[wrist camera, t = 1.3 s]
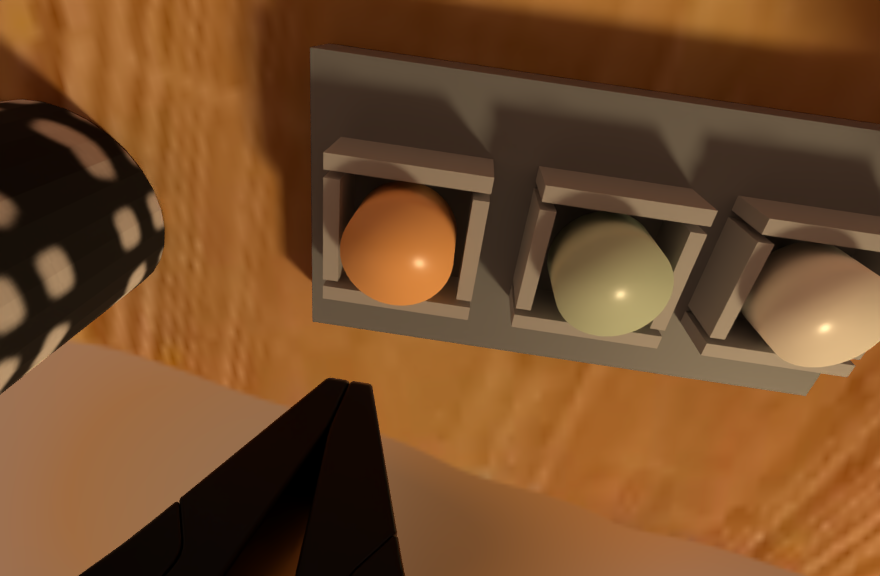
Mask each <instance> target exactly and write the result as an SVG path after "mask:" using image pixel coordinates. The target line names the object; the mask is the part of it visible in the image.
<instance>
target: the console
mask: <svg viewBox="0 0 880 576" xmlns="http://www.w3.org/2000/svg"><path fill="white" fill-rule="evenodd" d="M310 99H311V206H312V314H313V322H319V323H326V324H333V325H339V326H346V327H353V328H359V329H366V330H372V331H379V332H386V333H392V334H399V335H406V336H412V337H419V338H425V339H432V340H439V341H445V342H452V343H459V344H465V345H472V346H478V347H485V348H492V349H498V350H505V351H512V352H518V353H525V354H532V355H538V356H545V357H551V358H558V359H565V360H571V361H578V362H585V363H591V364H598V365H604V366H611V367H618V368H624V369H631V370H638V371H644V372H651V373H657V374H664V375H671V376H677V377H684V378H691V379H697V380H704V381H710V382H717V383H724V384H730V385H737V386H744V387H750V388H757V389H763V390H770V391H777V392H783V393H790V394H797V395H803V396H806V395H807V393H808V392H809V390H810V389H811V387H812V386H813V384H814V383H815V381H816V380H817V378H818V377H819V375H820V374H821V373H823V374H829V375H836V376H842V377H848V376H849V374H850V373H851V371H852V370H853V369H854V367H855V365H854V364H853V363H852V362H851V361H850V360H848V361H846V362H843V363H839V364H836V365H832V366H826V367H802V366H797V365H793V364H790V363H788V362H786V361H784V360H783V359H781V358H780V357H779V356H778V355H777V354H776V353H775V352H774V351H773V350H772V349H771V348H770V346H769V345H768V344H767V343H766V342H765V341H764V339H763V338H762V337H761V336H760V335H759V333H758V332H757V331H756V330H755V329H754V328H753V326H752V325H751V324H750V323H749V322H748V320H747V319H746V318H745V317H744V315H743V314H742V312H741V308H742V306H743V304H744V302H745V300H746V298H747V296H748V294H749V292H750V291H751V289H752V287H753V285H754V283H755V281H756V279H757V277H758V275H759V273H760V272H761V270H762V268H763V266H764V264H765V262H766V260H767V258H768V256H769V254H770V253H772V252H774V251H776V250H778V249H780V248H782V247H785V246H788V245H791V244H795V243H800V242H816V243H823V244H830V245H833V246H835V247H837V248H838V249H840V250H842V251H843V252H845V253H846V254H847V255H849V256H850V257H852V258H853V259H855V260H856V261H858V262H859V263H861V264H862V265H864V266H865V267H867V268H868V269H870V270H871V271H873V272H874V273H876V274H877V275H879V276H880V124H875V123H868V122H861V121H854V120H847V119H841V118H834V117H827V116H820V115H813V114H807V113H800V112H793V111H786V110H779V109H772V108H766V107H759V106H752V105H745V104H738V103H732V102H725V101H718V100H711V99H704V98H697V97H691V96H684V95H677V94H670V93H663V92H657V91H650V90H643V89H636V88H629V87H622V86H616V85H609V84H602V83H595V82H588V81H582V80H575V79H568V78H561V77H554V76H547V75H541V74H534V73H527V72H520V71H513V70H507V69H500V68H493V67H486V66H479V65H472V64H466V63H459V62H452V61H445V60H438V59H432V58H425V57H418V56H411V55H404V54H397V53H391V52H384V51H377V50H370V49H363V48H357V47H350V46H343V45H336V44H329V43H328V44H324V45H319V46H314V47H310ZM394 181H406V182H412V183H419V184H423V185H425V186H427V187H429V188H431V189H433V190H434V191H436V192H437V193H438V194H439V195H440V196H442V197H443V199H444V200H445V201H446V202H447V203H448V205H449V206H450V208H451V210H452V212H453V214H454V217H455V220H456V225H457V237H456V245H455V253H454V261H453V267H452V272H451V274H450V277H449V279H448V281H447V282H446V284H445V285H444V287H443V288H442V289H441V290H440V291H439V292H438V293H437V294H435V295H434V296H433V297H431V298H429V299H428V300H426V301H423V302H421V303H417V304H413V305H406V306H398V305H390V304H385V303H382V302H379V301H377V300H374V299H372V298H370V297H369V296H367V295H365V294H364V293H363V292H361V291H360V290H359V289H358V288H357V287H356V286H355V285H354V284H353V283H352V282H351V280H350V279H349V277H348V276H347V274H346V272H345V270H344V268H343V265H342V262H341V257H340V242H341V238H342V235H343V232H344V230H345V228H346V226H347V225H348V223H349V221H350V220H351V218H352V217H353V215H354V214H355V212H356V211H357V209H358V207H359V206H360V204H361V203H362V201H363V200H364V199H365V197H366V196H367V195H368V194H369V193H370V192H371V191H373V190H374V189H376V188H377V187H379V186H381V185H383V184H386V183H389V182H394ZM599 211H607V212H614V213H621V214H626V215H629V216H631V217H632V218H634V219H636V220H637V221H638V222H640V223H641V224H642V225H643V226H644V227H645V229H646V230H647V231H648V233H649V234H650V236H651V237H652V238H653V240H654V241H655V242H656V244H657V245H658V246H659V248H660V249H661V251H662V252H663V253H664V255H665V256H666V257H667V259H668V260H669V262H670V264H671V267H672V270H673V275H674V286H673V291H672V294H671V297H670V299H669V301H668V303H667V305H666V306H665V308H664V309H663V311H662V312H661V313H660V314H659V315H658V316H657V317H656V318H655V319H654V320H653V321H651V322H650V323H648V324H647V325H645V326H644V327H642V328H640V329H638V330H636V331H633V332H630V333H627V334H623V335H619V336H596V335H591V334H587V333H584V332H582V331H580V330H578V329H576V328H574V327H573V326H571V325H570V324H569V323H568V322H567V321H566V320H565V319H564V318H563V317H562V315H561V313H560V312H559V310H558V307H557V305H556V301H555V297H554V293H553V289H552V284H551V280H550V276H549V272H548V266H547V259H548V253H549V250H550V247H551V244H552V242H553V240H554V239H555V237H556V236H557V234H558V233H559V232H560V231H561V230H562V229H563V228H564V227H565V226H566V225H568V224H569V223H570V222H572V221H573V220H575V219H577V218H579V217H581V216H583V215H586V214H589V213H593V212H599ZM864 353H865V352H864ZM864 353H863V354H861V355H859V356H857V357H855V358H853V359H857V360H860V359H861V358H862V356H863V355H864Z"/></svg>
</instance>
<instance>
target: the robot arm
mask: <svg viewBox="0 0 880 576" xmlns="http://www.w3.org/2000/svg"><path fill="white" fill-rule="evenodd" d="M179 502H180V504H179V503H178V502H175V503H174V504H173V505H171V506H170V507H169V508H167V509H166V510H165V511H164V512H163V513H161V514H160V515H159V516H158V517H156V518H155V519H154V520H153V521H152V522H150V523H149V524H148V525H146V526H145V527H144V528H142V529H141V530H140V531H138V532H137V533H136V534H135V535H133V536H132V537H131V538H130V539H128V540H127V541H126V542H124V543H123V544H122V545H121V546H119V547H118V548H116V549H115V550H113V551H112V552H111V553H110V554H108V555H107V556H105V557H104V558H102V559H101V560H100V561H98V562H97V563H95V564H94V565H93V566H91V567H90V568H88V569H87V570H86V571H84V572H83V573H82V574H80V575H79V576H405V573H404V568H403V563H402V559H401V553H400V547H399V541H398V537H397V530H396V524H395V519H394V513H393V507H392V501H391V495H390V489H389V483H388V477H387V471H386V465H385V460H384V454H383V448H382V442H381V436H380V430H379V424H378V418H377V412H376V406H375V400H374V395H373V389H372V386H371V385H370V384H368V383H361V382H355V381H353V382H351V383H350V384H349V382H348V381H347V380H342V379H335V378H328V379H326V380H324V381H323V382H322V383H321V384H319V385H318V386H317V387H316V388H315V389H313V390H312V391H311V392H310V393H308V394H307V395H306V396H305V397H303V398H302V399H301V400H300V401H299V402H297V403H296V404H295V405H294V406H292V407H291V408H290V409H289V410H288V411H286V412H285V413H284V414H283V415H282V416H280V417H279V418H278V419H277V420H275V421H274V422H273V423H272V424H270V425H269V426H268V427H267V428H266V429H264V430H263V431H262V432H261V433H260V434H259V435H257V436H256V437H255V438H253V439H252V440H251V441H250V442H248V443H247V444H246V445H245V446H244V447H242V448H241V449H240V450H239V451H238V452H236V453H235V454H234V455H233V456H231V457H230V458H229V459H228V460H226V461H225V462H224V463H223V464H222V465H220V466H219V467H218V468H217V469H215V470H214V471H213V472H212V473H211V474H209V475H208V476H207V477H206V478H205V479H203V480H202V481H201V482H200V483H199V484H197V485H196V486H195V487H194V488H192V489H191V490H190V491H188V492H187V493H186V494H185V495H184V496H182V497H181V498H180V501H179Z"/></svg>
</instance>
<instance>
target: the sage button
mask: <svg viewBox="0 0 880 576" xmlns="http://www.w3.org/2000/svg"><path fill="white" fill-rule="evenodd" d="M547 266H548V272H549V276H550V280H551V284H552V289H553V293H554V297H555V301H556V305H557V307H558V310H559V312H560V313H561V315H562V317H563V318H564V319H565V320H566V321H567V322H568V323H569V324H570V325H571V326H573V327H574V328H576V329H578V330H580V331H582V332H584V333H587V334H591V335H596V336H619V335H623V334H627V333H630V332H633V331H636V330H638V329H640V328H642V327H644V326H645V325H647V324H648V323H650V322H651V321H653V320H654V319H655V318H656V317H657V316H658V315H659V314H660V313H661V312H662V311H663V309H664V308H665V306H666V305H667V303H668V301H669V299H670V297H671V294H672V291H673V286H674V275H673V270H672V267H671V264H670V262H669V260H668V259H667V257H666V256H665V255H664V253H663V252H662V251H661V249H660V248H659V246H658V245H657V244H656V242H655V241H654V240H653V238H652V237H651V236H650V234H649V233H648V231H647V230H646V229H645V227H644V226H643V225H642V224H641V223H640V222H638V221H637V220H636V219H634V218H632V217H631V216H629V215H626V214H621V213H614V212H607V211H599V212H593V213H589V214H586V215H583V216H581V217H579V218H577V219H575V220H573V221H572V222H570V223H569V224H568V225H566V226H565V227H564V228H563V229H562V230H561V231H560V232H559V233H558V234H557V236H556V237H555V239H554V240H553V242H552V244H551V247H550V250H549V253H548V259H547Z"/></svg>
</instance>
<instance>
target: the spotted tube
mask: <svg viewBox="0 0 880 576" xmlns="http://www.w3.org/2000/svg"><path fill="white" fill-rule="evenodd" d="M164 230H165V228H164V223H163V218H162V212H161V208H160V206H159V203H158V201H157V198H156V196H155V193H154V191H153V189H152V187H151V185H150V184H149V182H148V180H147V179H146V177H145V175H144V174H143V172H142V170H141V169H140V168H139V167H138V165H137V164H136V163H135V162H134V160H133V159H132V158H131V157H130V156H129V154H128V153H127V152H126V151H125V150H124V149H123V148H122V147H121V146H120V145H119V144H118V143H116V142H115V141H114V140H113V139H112V138H111V137H110V136H109V135H108V134H106V133H105V132H104V131H102V130H101V129H99V128H98V127H96V126H95V125H94V124H92V123H91V122H89V121H88V120H86V119H84V118H82V117H80V116H78V115H76V114H74V113H72V112H70V111H68V110H66V109H64V108H60V107H57V106H54V105H51V104H48V103H45V102H39V101H31V100H23V99H21V100H10V101H1V102H0V394H1V393H3V392H4V391H5V390H6V389H8V388H9V387H10V386H12V384H14V383H15V382H16V381H17V380H19V379H20V378H22V377H23V376H24V375H25V374H27V373H28V372H29V371H30V370H32V369H33V368H34V367H35V366H37V365H38V364H39V363H41V362H42V361H43V360H44V359H46V358H47V357H48V356H49V355H51V354H52V353H53V352H54V351H56V350H57V349H58V348H59V347H61V346H62V345H63V344H65V343H66V342H67V341H68V340H70V339H71V338H72V337H73V336H75V335H76V334H77V333H78V332H80V331H81V330H82V329H83V328H85V327H86V326H87V325H89V324H90V323H91V322H92V321H94V320H95V319H96V318H97V317H99V316H100V315H101V314H102V313H104V312H105V311H106V310H107V309H109V308H110V307H111V306H113V305H114V304H115V303H116V302H118V301H119V300H120V299H121V298H123V297H124V296H125V295H126V294H128V293H129V292H130V291H131V290H133V289H134V288H135V287H137V286H138V285H139V284H140V283H142V282H143V281H144V280H145V279H146V278H147V277H148V276H149V275H150V274H151V273H152V272H153V271H154V269H155V268H156V266H157V264H158V263H159V261H160V259H161V255H162V251H163V248H164Z"/></svg>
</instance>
